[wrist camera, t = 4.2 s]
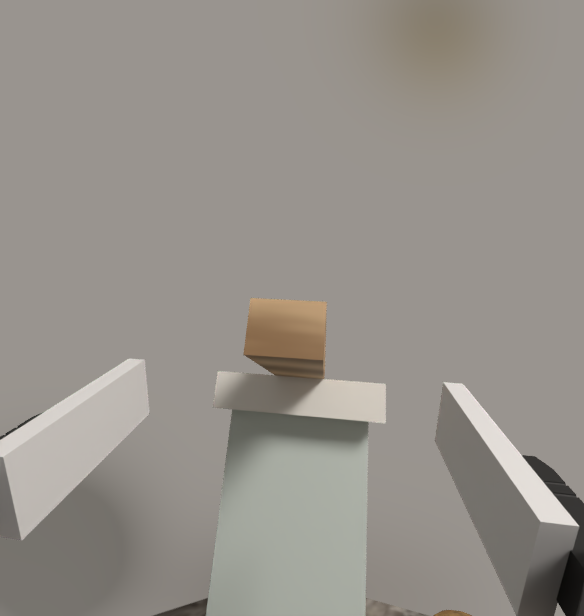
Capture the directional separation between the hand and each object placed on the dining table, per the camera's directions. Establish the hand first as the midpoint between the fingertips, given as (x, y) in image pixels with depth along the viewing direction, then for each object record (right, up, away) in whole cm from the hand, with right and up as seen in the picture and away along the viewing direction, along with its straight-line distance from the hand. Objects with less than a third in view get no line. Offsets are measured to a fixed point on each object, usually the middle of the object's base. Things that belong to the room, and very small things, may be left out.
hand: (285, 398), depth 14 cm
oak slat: (+1, -3, +16) cm, 16 cm away
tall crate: (-1, -33, +14) cm, 36 cm away
